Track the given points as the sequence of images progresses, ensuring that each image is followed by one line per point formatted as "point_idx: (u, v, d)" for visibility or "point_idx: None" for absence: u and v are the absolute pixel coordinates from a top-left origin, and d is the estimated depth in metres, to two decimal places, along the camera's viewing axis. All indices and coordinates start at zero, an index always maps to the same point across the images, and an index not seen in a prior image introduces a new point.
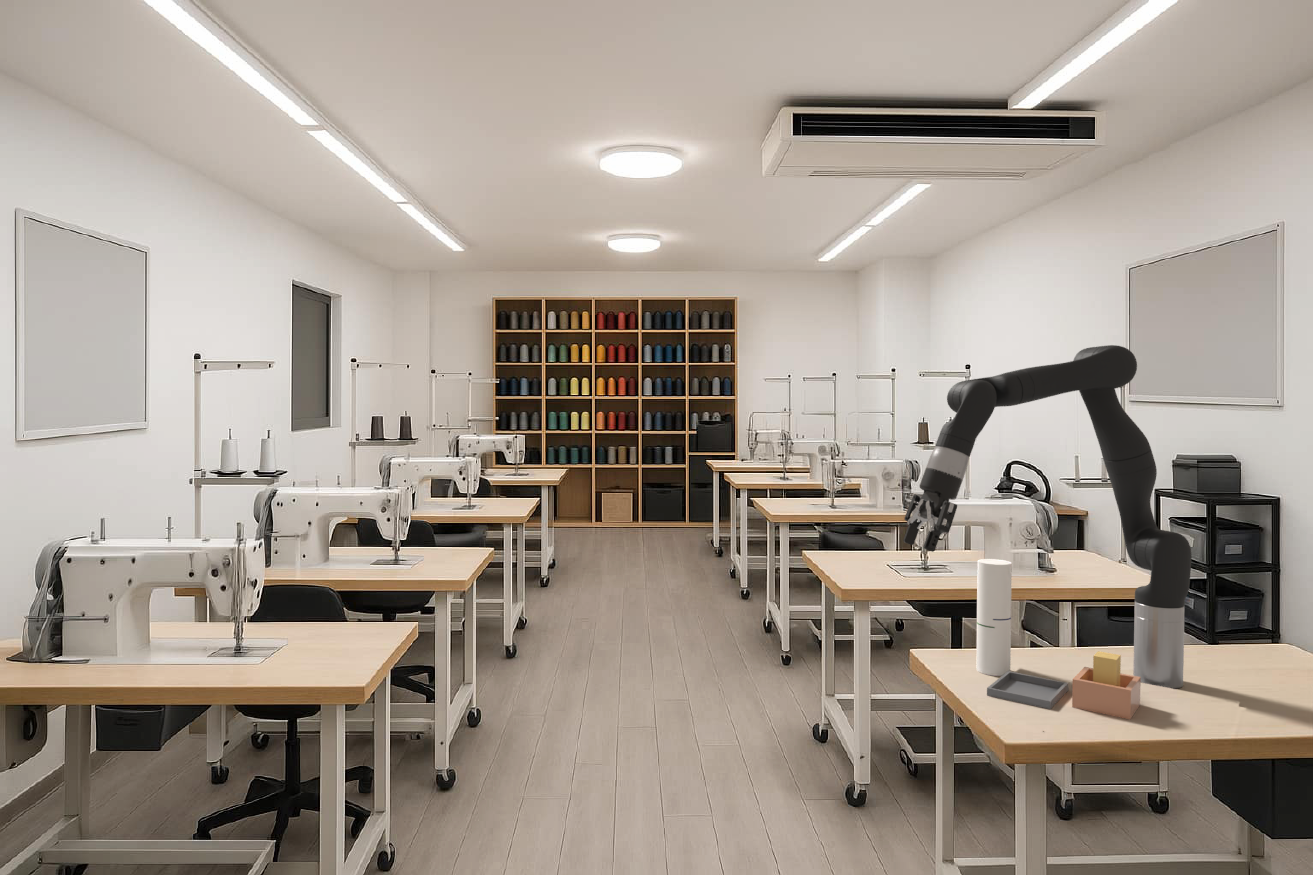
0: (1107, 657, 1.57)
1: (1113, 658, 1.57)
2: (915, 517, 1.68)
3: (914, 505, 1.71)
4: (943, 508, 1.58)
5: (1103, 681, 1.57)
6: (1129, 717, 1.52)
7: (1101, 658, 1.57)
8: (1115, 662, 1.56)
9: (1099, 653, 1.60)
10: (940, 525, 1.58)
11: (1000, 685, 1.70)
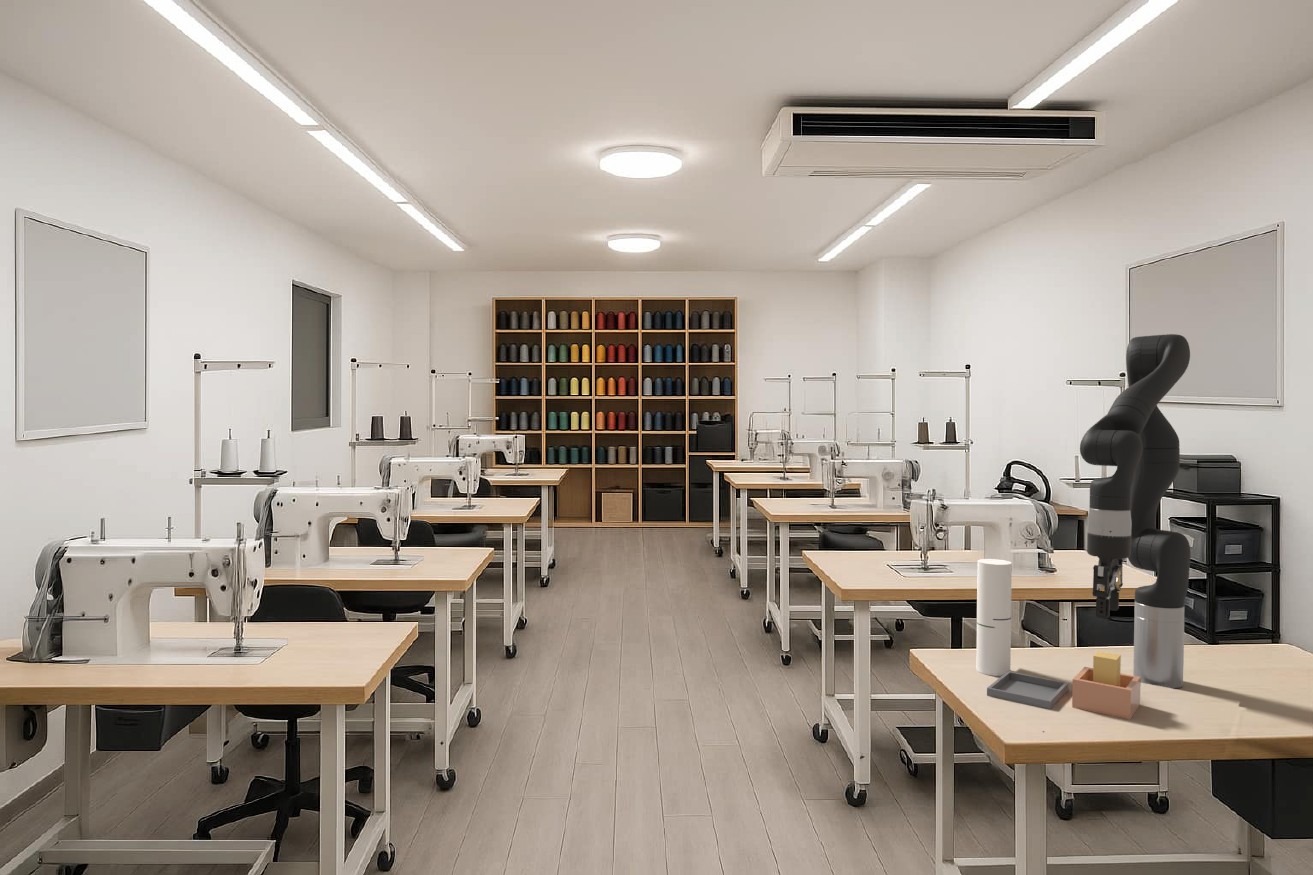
0: (1107, 657, 1.57)
1: (1113, 658, 1.57)
2: None
3: None
4: None
5: (1103, 681, 1.57)
6: (1129, 717, 1.52)
7: (1101, 658, 1.57)
8: (1115, 662, 1.56)
9: (1099, 653, 1.60)
10: (1094, 592, 1.53)
11: (1000, 685, 1.70)
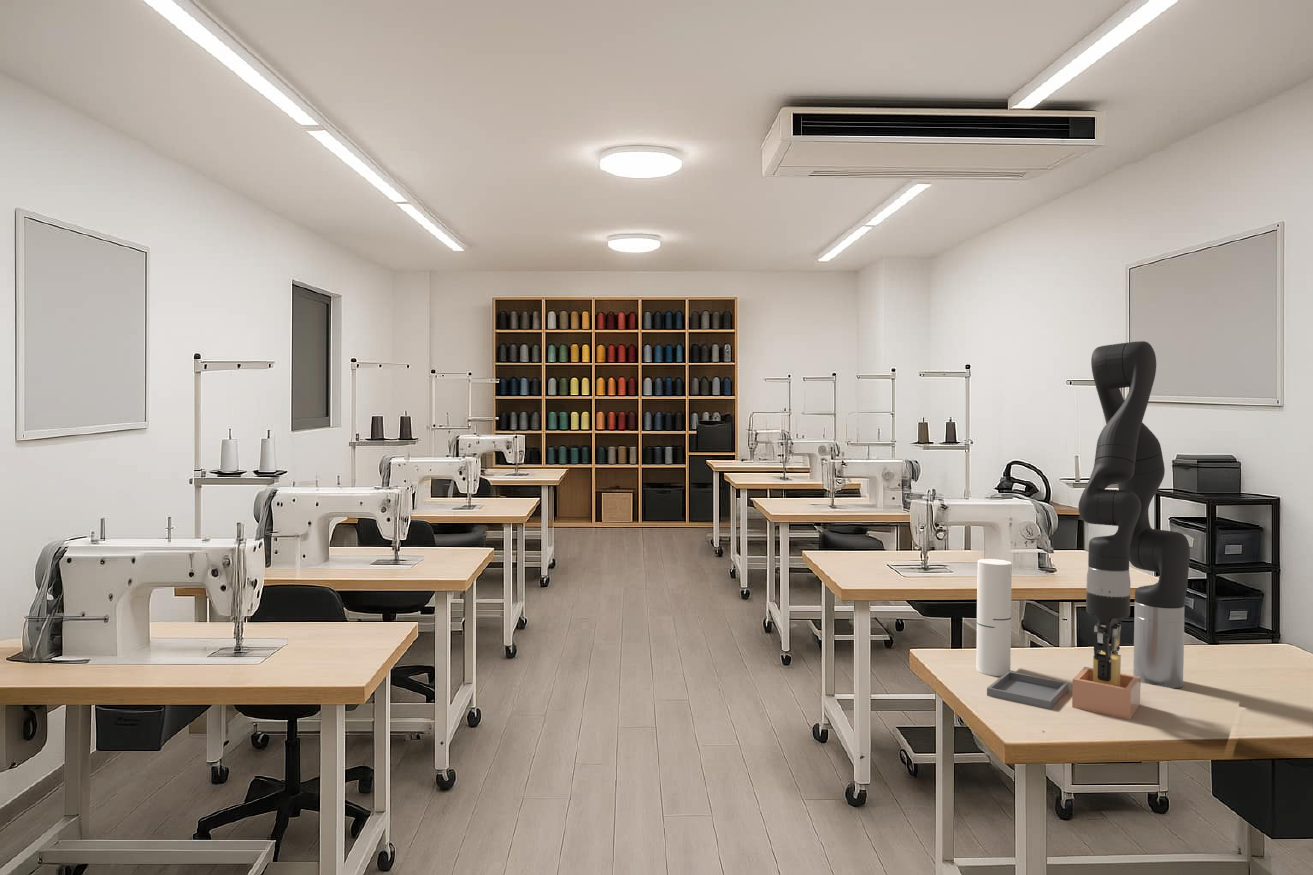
0: None
1: (1113, 658, 1.57)
2: None
3: None
4: None
5: (1103, 681, 1.57)
6: (1129, 717, 1.52)
7: None
8: (1115, 662, 1.56)
9: None
10: (1095, 655, 1.55)
11: (1000, 685, 1.70)
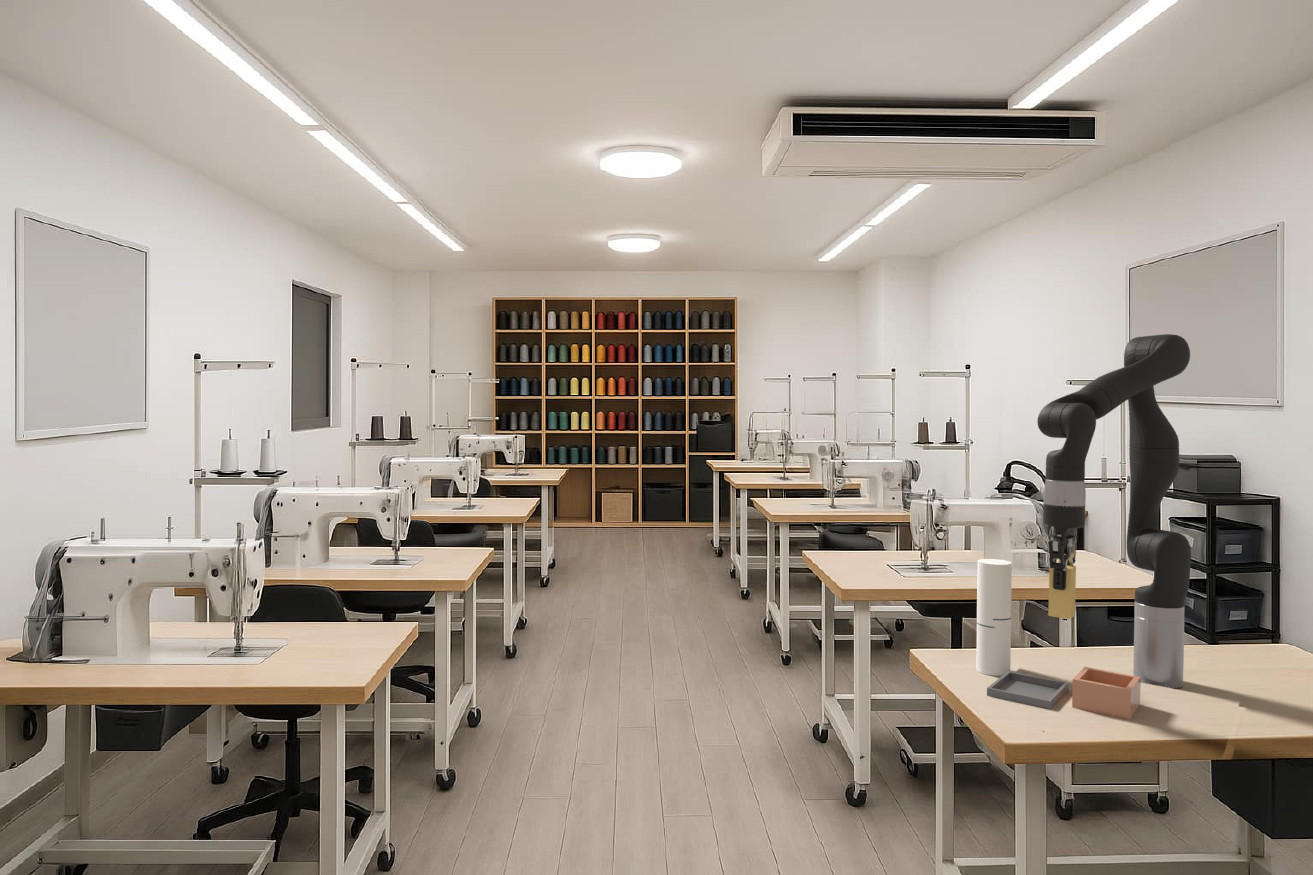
0: None
1: (1068, 568, 1.60)
2: None
3: None
4: None
5: (1058, 590, 1.61)
6: (1129, 717, 1.52)
7: None
8: (1070, 571, 1.59)
9: None
10: (1051, 564, 1.59)
11: (1000, 685, 1.70)
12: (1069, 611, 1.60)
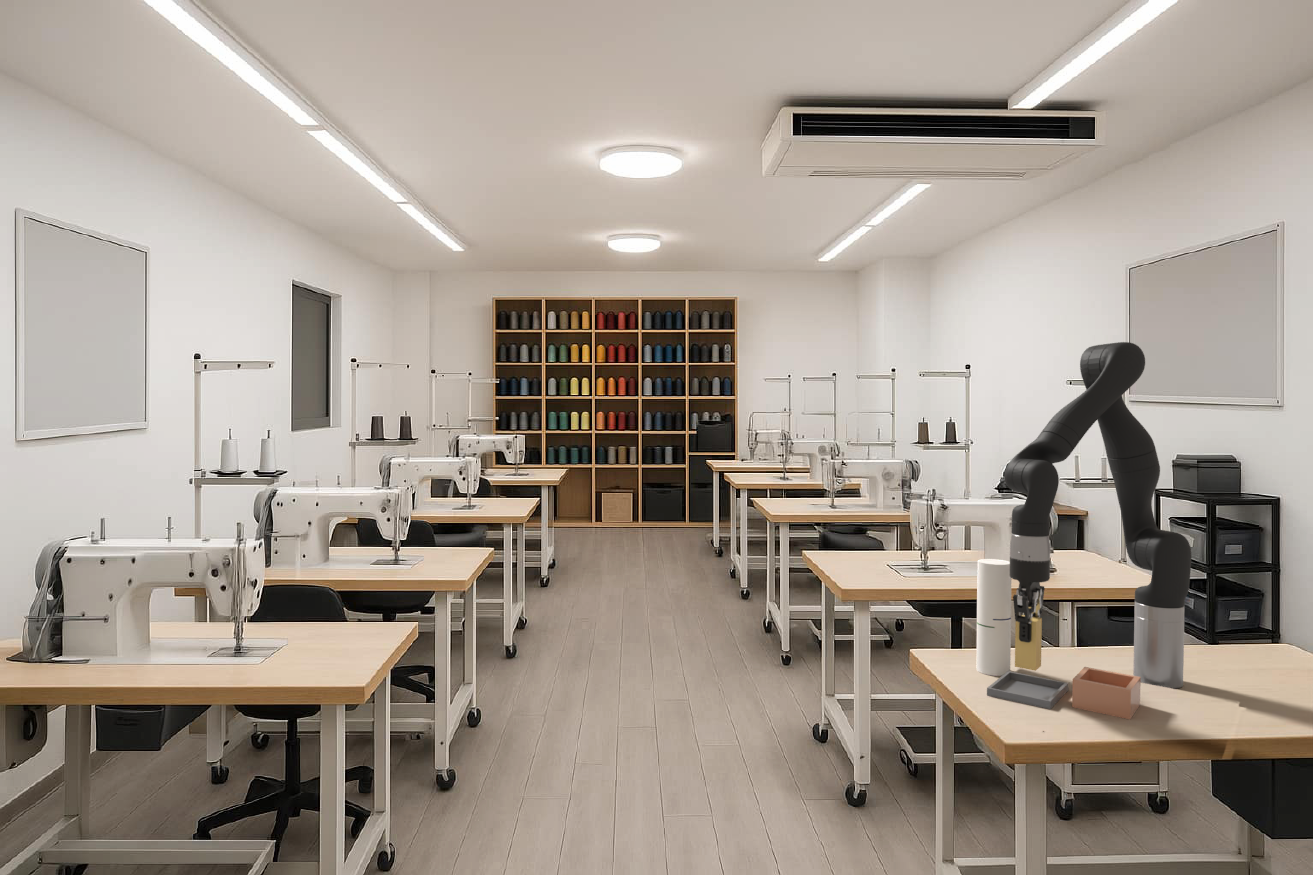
0: None
1: (1033, 620, 1.64)
2: None
3: None
4: None
5: (1024, 642, 1.65)
6: (1129, 717, 1.52)
7: None
8: (1035, 624, 1.63)
9: None
10: (1016, 617, 1.63)
11: (1000, 685, 1.70)
12: (1034, 663, 1.63)
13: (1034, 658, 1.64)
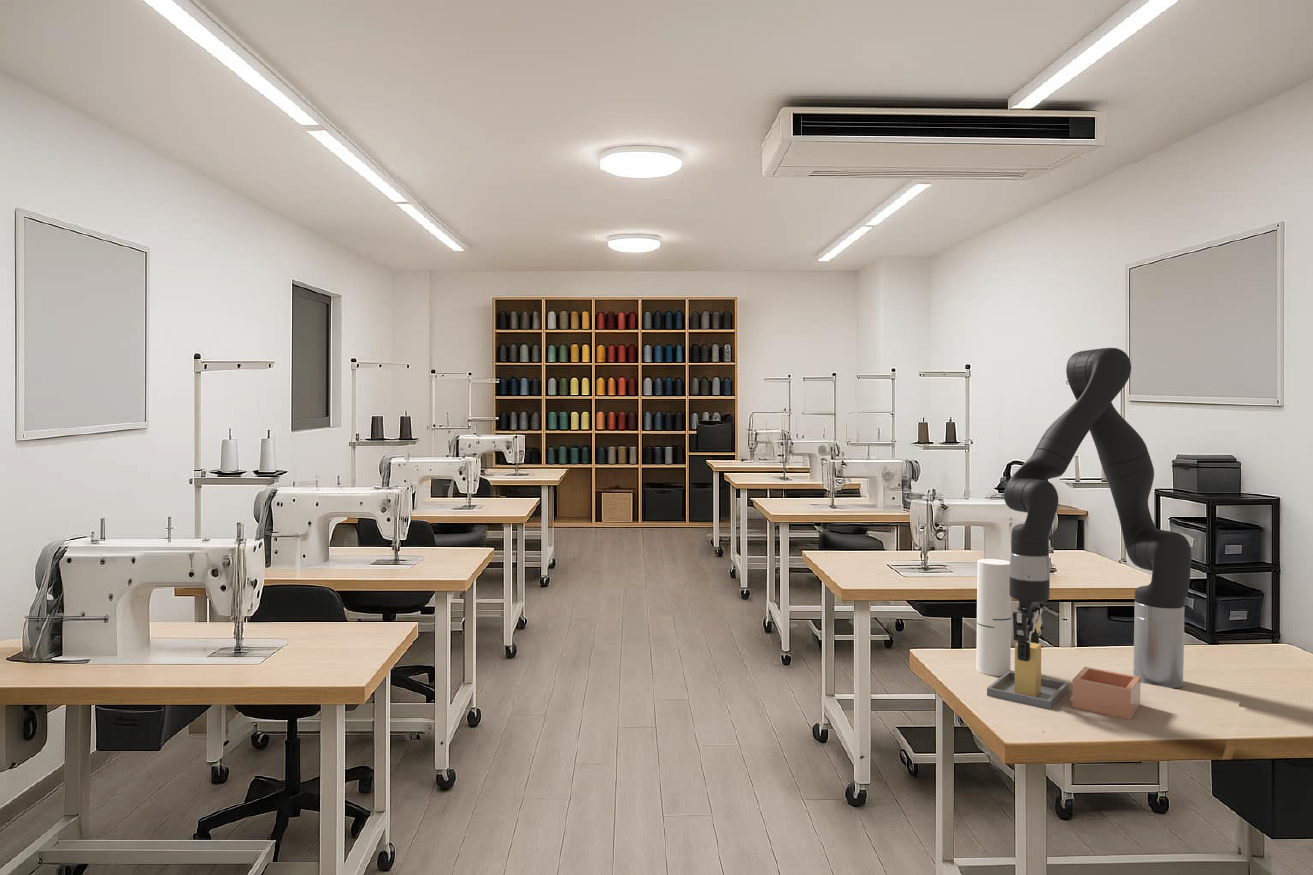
0: None
1: (1033, 647, 1.64)
2: None
3: None
4: None
5: (1024, 669, 1.65)
6: (1129, 717, 1.52)
7: None
8: (1034, 651, 1.63)
9: None
10: (1014, 636, 1.62)
11: (1000, 685, 1.70)
12: (1034, 689, 1.64)
13: (1033, 685, 1.64)
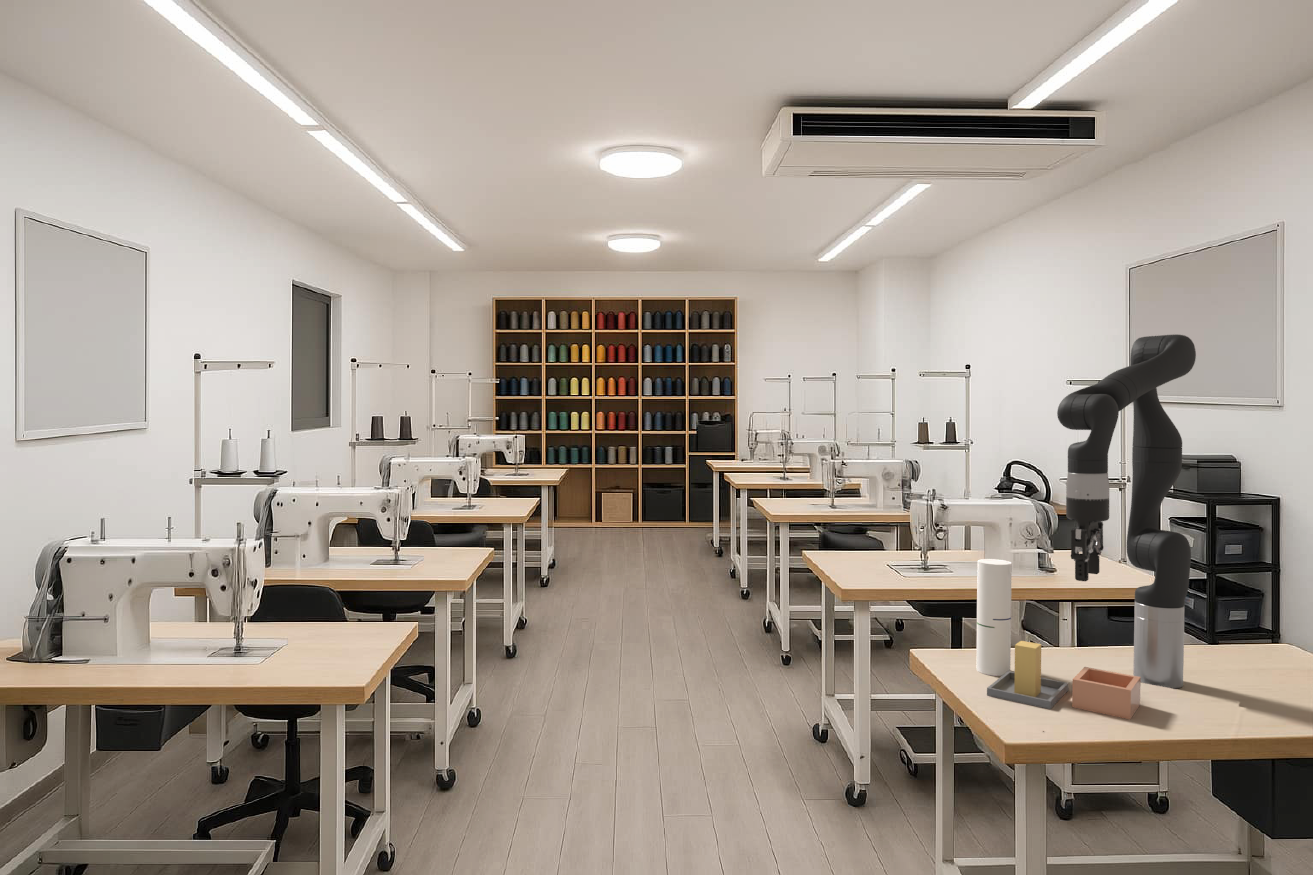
0: (1027, 646, 1.65)
1: (1033, 647, 1.64)
2: None
3: None
4: None
5: (1024, 669, 1.65)
6: (1129, 717, 1.52)
7: (1022, 647, 1.65)
8: (1034, 651, 1.63)
9: (1021, 642, 1.67)
10: (1072, 555, 1.55)
11: (1000, 685, 1.70)
12: (1034, 689, 1.64)
13: (1033, 685, 1.64)
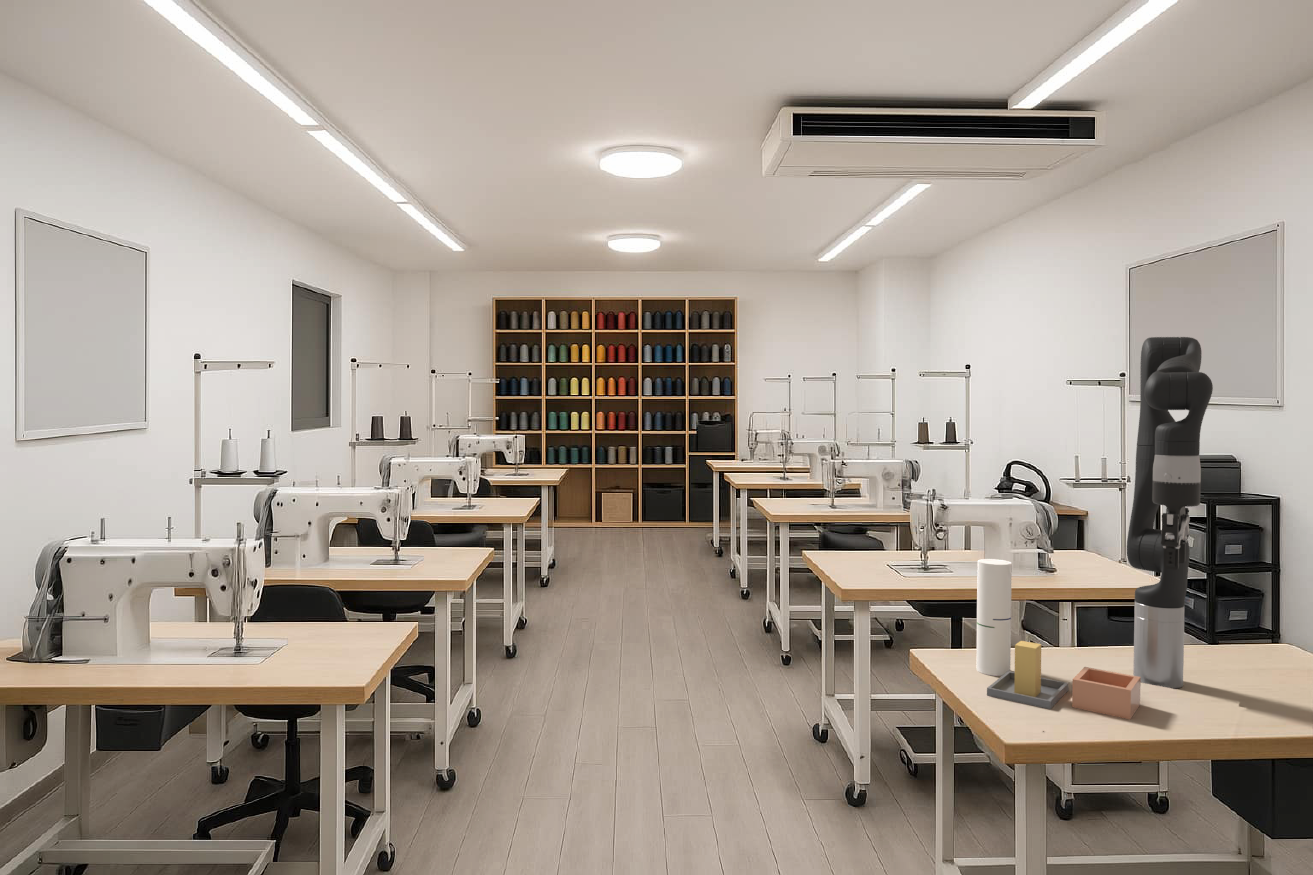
0: (1027, 646, 1.65)
1: (1033, 647, 1.64)
2: None
3: None
4: None
5: (1024, 669, 1.65)
6: (1129, 717, 1.52)
7: (1022, 647, 1.65)
8: (1034, 651, 1.63)
9: (1021, 642, 1.67)
10: (1163, 541, 1.46)
11: (1000, 685, 1.70)
12: (1034, 689, 1.64)
13: (1033, 685, 1.64)
